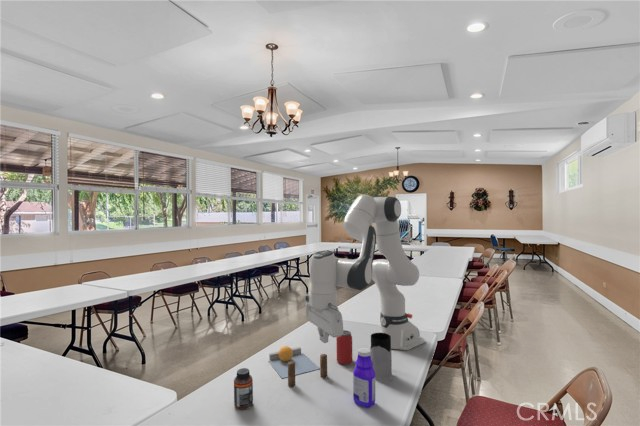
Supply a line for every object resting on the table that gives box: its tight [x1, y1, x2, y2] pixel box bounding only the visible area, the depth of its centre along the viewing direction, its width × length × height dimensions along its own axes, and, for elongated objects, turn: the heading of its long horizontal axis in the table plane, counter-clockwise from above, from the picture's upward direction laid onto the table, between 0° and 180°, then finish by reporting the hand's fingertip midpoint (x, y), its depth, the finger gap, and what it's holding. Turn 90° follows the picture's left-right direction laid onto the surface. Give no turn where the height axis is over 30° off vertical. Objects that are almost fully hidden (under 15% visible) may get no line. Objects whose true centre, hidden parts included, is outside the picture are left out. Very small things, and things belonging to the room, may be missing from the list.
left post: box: [287, 361, 296, 388], centre depth 119 cm, size 3×3×8 cm
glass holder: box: [369, 332, 394, 383], centre depth 128 cm, size 9×14×15 cm, turn 158°
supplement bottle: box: [233, 367, 254, 411], centre depth 107 cm, size 6×6×11 cm
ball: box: [278, 345, 293, 362], centre depth 139 cm, size 6×6×6 cm
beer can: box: [335, 329, 353, 365], centre depth 138 cm, size 7×7×12 cm
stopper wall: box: [268, 346, 302, 361], centre depth 143 cm, size 14×2×2 cm, turn 117°
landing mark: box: [267, 352, 320, 380], centre depth 135 cm, size 16×16×1 cm
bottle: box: [352, 347, 376, 409], centre depth 108 cm, size 7×6×17 cm
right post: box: [319, 353, 328, 379], centre depth 125 cm, size 3×3×8 cm
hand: (323, 341), depth 111 cm, fingers closed
